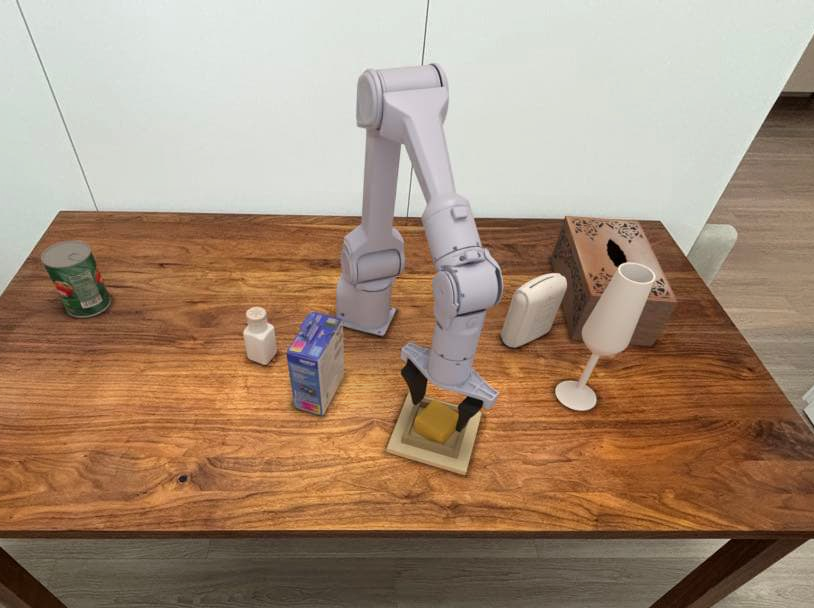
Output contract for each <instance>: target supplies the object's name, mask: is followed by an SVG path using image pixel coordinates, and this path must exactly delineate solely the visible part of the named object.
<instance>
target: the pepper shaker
mask: <svg viewBox="0 0 814 608" xmlns="http://www.w3.org/2000/svg"><path fill="white" fill-rule="evenodd" d="M245 317H246V322H247V326H246V327H245V328H244V330H243V334H242V335H243V340H244V341H243V342H244V346H245V353H246V357H247V359H249V361H252V362H255V363H258V364H261V365H263V366H265V365H266V366H267V365H268V364H270V362H271V360H272V359H273V358H274V357H275V356H276V354H277V353H278V347H277V338H276V330H275V329H276V328H275V326H274V325H273V324H271V323H269V322H268V321H269V320H268V315H267V311H266V309H265V308H263V307H261V306H253V307H250V308H249V309H247V310H246V312H245Z"/></svg>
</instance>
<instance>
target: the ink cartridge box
mask: <svg viewBox="0 0 814 608" xmlns="http://www.w3.org/2000/svg"><path fill="white" fill-rule="evenodd" d="M299 329H300V330H299V331H298V333H297V334H296V336H295V338H294V339H293V341H292V342H291V344H290V345H289V347H288V348H287V350H286V351H285V354H286V360H287V361H286V362H287V368H288V374H289V380H290V382H289V383H290V388H291V394H292V401H293V407H294V408H296V409H298V410H302V411H305V412H308V413H312V414H315V415H318V416H321V417H322V416H324V415H325V413H326V411H327V409H328V407H329V405H330V404H331V401H332V400H333V397H334V395H335V393H336V392H337V390H338V388H339V387H340V384H341V382H342V381H343V379H344V377H345V355H344V354H345V353H344V350H345V349H344V327H343V320H342V319H341V318H337V317H336V316H332V315H328V314H325V313H321V312H316V311H311V312H308V314H307V315H306V317H305V318H304V320H303V321H302V323H301V325H300V326H299Z"/></svg>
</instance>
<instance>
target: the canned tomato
mask: <svg viewBox="0 0 814 608" xmlns="http://www.w3.org/2000/svg"><path fill="white" fill-rule="evenodd" d="M40 260H41V262H42V264H43V265H44V268H45V270H46V272H47V274H48V276H49V278H50V280H51V283H52V284H53V286H54V288H55V291H56V292H57V294H58V296H59V298H60V300H61V302H62V305H63V306H64V308H65V311H66V313H67V314H68V315H69V316H71V317H74V318H77V319H87V318H92V317H95V316H98V315H100V314H102V313H104V312H105V311H106V310H107V309H108V308H109V307H110V306H111V302H112V298H111V296H110V294H109V291H108V289H107V286H106V284H105V282H104V279H103V277H102V274H101V272H100V268H99V267H98V264H97V262H96V259H95V257H94V255H93V252H92V248H91V246H90V245H89V244H88V243H86V242H85V241H81V240H63V241H60V242H57V243H54V244H52V245H50V246H48V247H47V248H45V249H44V251H43V252H42V253H41V256H40Z"/></svg>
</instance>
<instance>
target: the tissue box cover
mask: <svg viewBox="0 0 814 608" xmlns="http://www.w3.org/2000/svg"><path fill="white" fill-rule="evenodd" d="M550 262H551V266H552V270H553V273H559V274H560V275H561V276H564V277H565V278H566V281H567V289H566V292H565V294H564V297H563V299H562V302H561V305H562V308H563V309H562V310H563V313H564V318H565V321H566V324H567V328H568V333H569V336H570V339H571V341H578V342H579V341H580V342H584V341H583V338H582V329H583V326H584V325H585V323H586V321H587V320H588V318H589V316H590V315H591V313H592V311H593V310H594V308H595V306H596V305H597V303H598V301H599V299H600V298H601V296H602V294H603V293H604V291H605V289H606V288H607V286H608V284H609V283H610V281H611V279H612V278H613V276H614V274H615V272H616V271H617V269H618V267H619V266H620V265H621V264H623V263H638V264H641V265H644V266H646V267H648V268H649V269H651V270H652V271H653V272H654V274H655V281H654V283H653V286H652V288H651V291H650V293H649V295H648V298H647V300H646V303H645V305H644V308H643V310H642V313H641V315H640V318H639V320H638V322H637V325H636V327H635V330H634V332H633V335H632V337H631V340H630V342H629V344H628V346H629V345H630V346H641V347H642V346H643V347H653V346H654V343H655V342H656V340H657V338H658V337H659V335H660V334H661V331H662V330H663V328H664V327H665V325H666V323H667V322H668V320H669V318H670V317H671V315H672V313H673V311H674V310H675V308H676V306H677V304H678V303H679V301H678V299H677V298H676V297H677V296H676V295H675V292H674V291H673V289H672V287H671V284H670V283H669V281H668V279H667V276H666V274H665V272H664V270H663V269H662V267H661V264H660V262H659V260H658V258H657V256H656V254H655V251H654V250H653V248H652V245H651V244H650V241H649V239H648V237H647V235H646V233H645V231H644V229H643V227H642V225H641V223H640V221H639V220H630V219H615V218H605V217H604V218H602V217H591V216H589V217H587V216H577V215H576V216H574V215H565V216H564V219H563V222H562V225H561V227H560V230H559V233H558V236H557V240H556V242H555V245H554V248H553V251H552V253H551V257H550Z"/></svg>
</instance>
